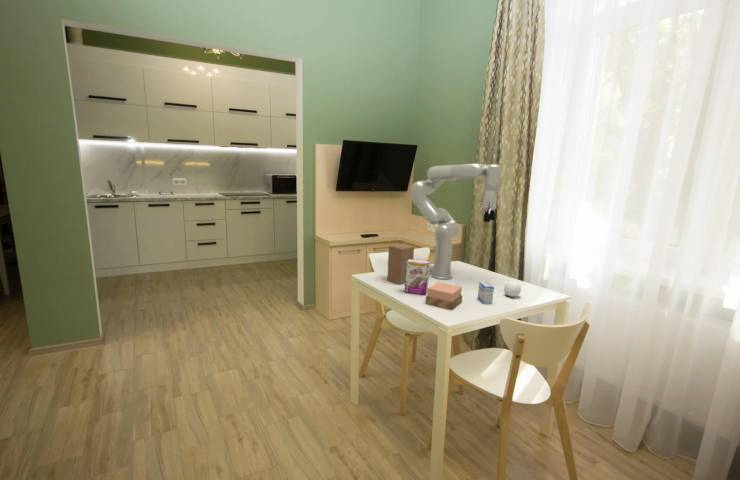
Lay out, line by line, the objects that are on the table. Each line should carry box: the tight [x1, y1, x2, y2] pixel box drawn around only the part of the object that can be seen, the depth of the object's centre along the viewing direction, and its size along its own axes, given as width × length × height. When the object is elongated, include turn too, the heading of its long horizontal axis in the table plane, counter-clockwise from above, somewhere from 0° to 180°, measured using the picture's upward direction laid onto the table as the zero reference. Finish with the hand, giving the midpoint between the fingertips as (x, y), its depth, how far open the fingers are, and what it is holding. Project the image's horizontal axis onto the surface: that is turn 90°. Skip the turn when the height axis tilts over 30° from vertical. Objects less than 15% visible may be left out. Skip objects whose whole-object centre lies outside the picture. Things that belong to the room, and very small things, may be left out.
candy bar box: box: [404, 259, 431, 296], centre depth 190 cm, size 11×5×16 cm, turn 71°
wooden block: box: [386, 243, 415, 285], centre depth 208 cm, size 10×10×20 cm
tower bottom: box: [425, 294, 463, 311], centre depth 178 cm, size 13×13×4 cm
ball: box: [503, 280, 522, 298], centre depth 191 cm, size 8×8×8 cm
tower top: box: [426, 281, 463, 302], centre depth 178 cm, size 12×12×4 cm
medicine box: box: [477, 281, 495, 305], centre depth 182 cm, size 8×4×9 cm, turn 5°
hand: (488, 220), depth 201 cm, fingers open, 9 cm apart
